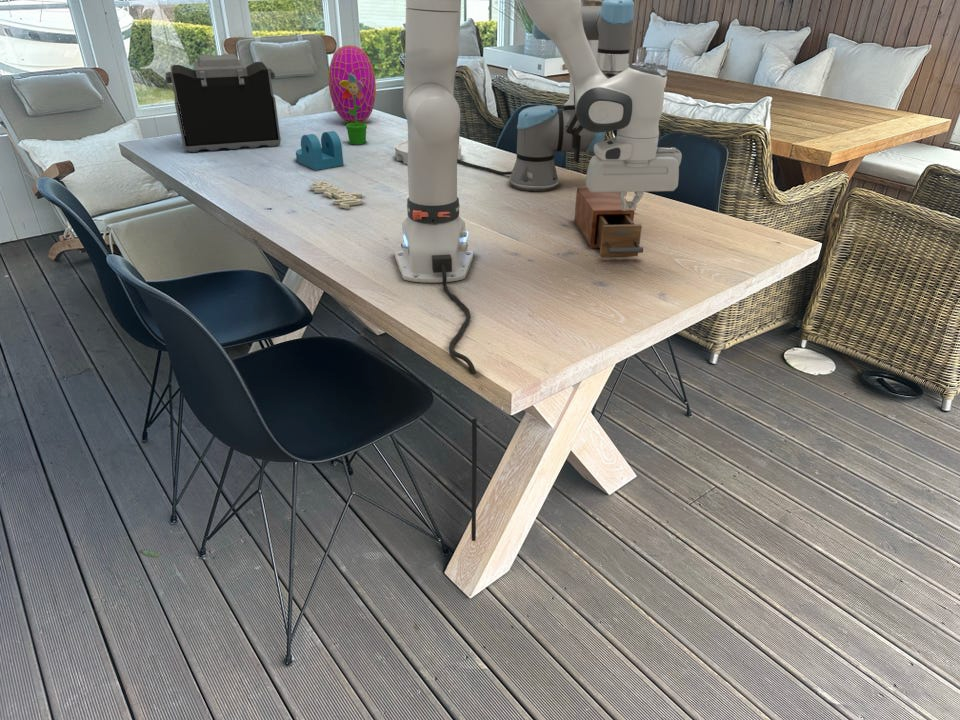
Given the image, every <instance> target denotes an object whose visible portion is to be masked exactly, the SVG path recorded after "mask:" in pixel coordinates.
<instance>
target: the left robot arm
mask: <svg viewBox="0 0 960 720" xmlns="http://www.w3.org/2000/svg"><path fill="white" fill-rule="evenodd" d="M520 1H521V4H522V6H523V8H524V10H525V12H526V14H527V15H528V16H529V18H530V19H531V21H532V24H533V23H534V24H535V25H536V27H537V28H538V29H539V30H540V31H541V32H542V33H544V34H545V35H546V36H547V37H549V38H550V39H551V40H550V41H551V42H552V43H553V45H554V46H555V47H556V49H557V50H558V53H559V55H560V57H561V59H562V61H563V63H564V66H565V68H566V70H567V72H568V75H569V78H570V77H571V79H572V82H573V86H574V106H575V109H576V116H577V119H578V121H579V123H580V125H581V126H582V127H583V128H585V129H586V130H588V131H590V132H595V133H600V132H606V133H607V132H613V131H616V136H613V137H610V138H608V139H606V140H605V139H604V141H602V142H599V143H596V144H595V145H594V151H593V153H594V155H593V156H592V157H591V158H590V159H589V162H588V165H587V171H586V175H585V187H587V188H588V190H589V191H590V192H618V195H619V197H620V199H621V201H622V206H621V209H622V211H635V212H636V211H637V205H638V203H639V202H640V201H641V199H642V198H643V196H644V192H674V191H675V190H676V189H677V188H678V186H679V177H680V165H681V163H682V158H683V155H682V152H681V151H680V150H679V149H678V148H677V147H674V146H673V147H671V146H670V147H658V145H659V137H660V128H659V124H660V119H661V117H662V115H663V109H664V100H665V99H664V97H665V79H664V77H663V76H662V74H661V73H660V72H659V71H657V70H656V69H653V68H651V67H648V66H643V65H635V64H634V65H628V68H627V69H626V70H624V71H623V72H621V73H619V74H618V75H616V76H614V77H611V78H609V77H608V76H607V75H605V74H604V73H603V72H602V71H601V69H600V67H599V66H598V64H597V61H596V59H595V57H594V54H593V52H592V50H591V47H590V45H589V43H588V40H587V38H586V35H585V32H584V28H583V22H582V4H581V0H520ZM461 10H462V0H405V47H404V48H405V51H404V53H405V54H404V69H403V87H402V89H403V90H402V91H403V92H402V94H403V95H402V109H403V113H404V115H405V119H406V123H407V140H408V164H406V166H407V184H408V186H407V187H408V198H407V199H406V211H407V213H406V214H407V217H406V218H405V219H404V220H403V221H402V223H401V231H402V242H401V244H400V247H401V249H400V250H397V251H395V252H394V259H395V262H396V264H397V267H398V269H399V272H400V274H401V277H402V279H403V280H405V281H408V282H414V283H431V284H433V283H435V284H437V283H442V288H443V291H444V293H445V295H447V296H448V297H449V298H450V299H452V300H453V301H454V302H455V303H456V304H457V305H458V306H459V307H460V308H461V309H462V310H463V311H464V313H465V319H464V321H463V323H462V324H461V327H460V328H459V330H458V331H457V333H456V334H455V335H454V337H453V338H452V339H451V341H450V342H449V345H448V349H449V353H450V354H451V355H452V356H453V357H455V358H457V359H460V360H462V361H463V362H464V363H466V365H467V366H468V368H469V371H470V374H471V375H473V376H475V375H476V374H477V371H476V368H475V365H474V364H473V362H472V360H471V359H470V358H469V357H468V356H466V355H464V354H463V353H460V352H458V351H456V349H455V344H456V343H457V342H458V340H459V339H460V338H461V337H462V335H463V334H464V332H465V329H466V328H467V326H468V325H469V323H470V321H471V312H470V308H468V306H467V305H466V304H464V302H463V301H461V300H460V299H459V298H458V297H457V296H456V295H455V294H453V293H452V292H450V290H449V288H448V283H451V282H457V281H461V280H464V279H466V277H467V274H468V273H469V269H470V267H471V265H472V262H473V260H474V257H475V251H473V250H471V249H468V245H469V243H468V242H467V239H468V236H469V231H466V221H465V220H464V219H463V218H461V216H460V208H461V207H460V206H461V205H460V198H459V197H458V162H457V158H458V149H459V144H460V138H461V137H460V135H461V120H462V119H461V117H462V116H461V108H460V104H459V103H458V101H457V99H456V98H455V95H454V90H455V81H456V71H457V65H458V60H459V55H460V40H461V38H460V37H461V16H462V15H461V13H462V12H461ZM631 192H632V193H633V194H634V195H635V196H634V197H633V198H632V200H629V201H626V200H627V199H626V198H625V197H627V196H628V193H631ZM625 199H626V200H625ZM477 428H478V422H477V418H472V419H471V527H470V528H471V533H470V534H471V535H470V537H471V540H470V541H472V542H475V541H477V476H478V475H477V473H478V472H477V469H478V467H477V466H478V462H477V461H478V433H477V432H478V429H477Z"/></svg>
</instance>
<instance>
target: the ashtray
mask: <svg viewBox="0 0 960 720" xmlns="http://www.w3.org/2000/svg"><path fill="white" fill-rule="evenodd" d="M394 150H395V151H394V152H395V153H394V154H395V160H396V161H397V162H403V164H404V165H407V164H408V139H407V140H404V141H399V142H398V143H396V144H395V146H394ZM461 158H462V145H461V144H460V143H459V149H458V158H457V159H459V160H462V159H461Z"/></svg>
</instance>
